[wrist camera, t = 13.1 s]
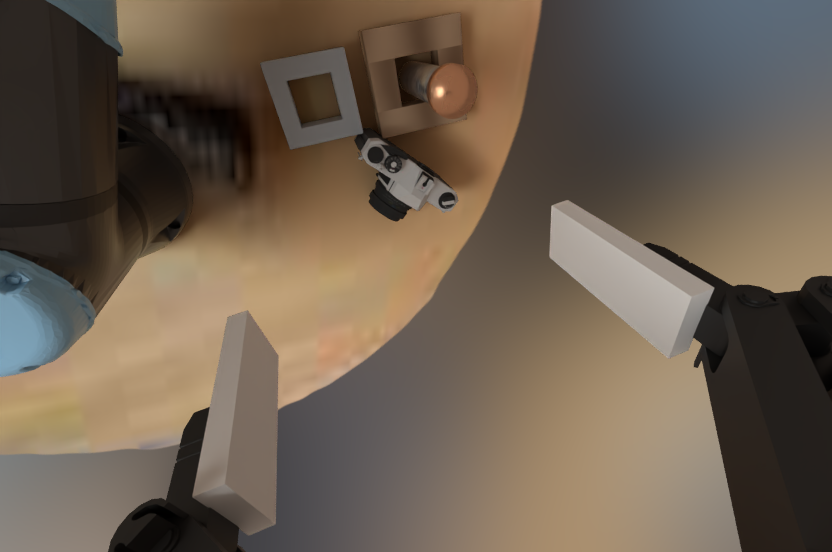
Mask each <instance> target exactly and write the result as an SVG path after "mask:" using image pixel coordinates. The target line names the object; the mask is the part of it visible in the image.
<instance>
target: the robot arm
mask: <svg viewBox="0 0 832 552" xmlns="http://www.w3.org/2000/svg"><path fill="white" fill-rule="evenodd" d="M118 56H120V57H122V56H123V49H122V46H121V44H120V43H119V41H118V27H117V6H116V0H0V377H4V376H10V375H16V374H20V373H24V372H28V371H31V370H34V369H36V368H39V367H40V366H41V365H45V364H47V363H50V362H53V361H55V360H56V359H58V358H59V357H61V356H62V355H63V354H64V353H66V352H67V351H68V350H69V349H70V347H71V346H72V345H73V344H74V343H75V342H76V341H77V340H78V339H79V338H80V337H81V336H82V335H84V334H85V333H86V332H87V331H88V330H89V329H90V328H91V327H92V326H93V324H94V319H95V318H96V317H97V315H98V314H99V312H100V311H101V310H102V308H103V307H104V305H105V304H106V302H107V301H108V300H109V298H110V297H111V295H112V294H113V293H114V291H115V290H116V288H117V287H118V286H119V284H120V283H121V281H122V280H123V279H124V277H125V276H126V274H127V273H128V272H129V270H130V269H131V267H132V266H133V265H134V263H135V262H136V260H137V259H139V258H141V257H143V256H146V255H148V254H151V253H153V252H155V251H158V250H160V249H162V248H163V247H165V246H166V245H168V244H169V243H170V242H172V241H173V240H174V239H175V238H176V237H177V236H178V235H179V233H180V232H181V231H182V229H183V227H184V226H185V224H186V222H187V221H188V219H189V217H190V214H191V210H192V204H193V194H192V188H191V184H190V181H189V178H188V175H187V173H186V171H185V169H184V167H183V166H182V164H181V162H180V161H179V159H178V158H177V157H176V155H175V154H174V153H173V152H172V151H171V149H170V148H169V147H168V146H167V145H166V144H165V143H164V142H162V141H161V140H160V139H159V138H158V137H157V136H155V135H154V134H153V133H151V132H150V131H149V130H147V129H146V128H144V127H143V126H141V125H139V124H137V123H136V122H134V121H132V120H130V119H128V118H125V117H123V116H121V115H118ZM550 258H551V259H552V260H554V261H555V262H556V263H557V264H558V265H559V266H561V267H562V268H563V269H564V270H565V271H566V272H568V273H569V274H570V275H571V276H572V277H573V278H575V279H576V280H577V281H578V282H579V283H581V284H582V285H583V286H584V287H585V288H586V289H587V290H589V291H590V292H591V293H592V294H594V296H596V297H597V298H598V299H599V300H600V301H602V302H603V303H604V304H605V305H606V306H607V307H609V308H610V309H611V310H612V311H613V312H615V313H616V314H617V315H618V316H619V317H620V318H622V319H623V320H624V321H625V322H626V323H627V324H629V325H630V326H631V327H632V328H633V329H634V330H636V331H637V332H638V333H639V334H640V335H641V336H643V337H644V338H645V339H646V340H647V341H649V342H650V343H651V344H652V345H653V346H654V347H655V348H657V349H658V350H659V351H660V352H662V353H663V354H664V355H665V356H666V357H667V358H671V357H674V356H676V355H678V354H681V353H683V352H685V351H688V349H689V347H690V345H691V342H692V340H693V338H695V339H696V340H698V341H699V342H700V343H701V344H702V346H701V348H700V350H699V353H698V355H697V357H696V359H695V361H694V367H696V368H698V366H699V364H700V362H701V361H702V363H703V368H704V372H705V377H706V382H707V387H708V392H709V396H710V401H711V406H712V411H713V416H714V420H715V425H716V430H717V435H718V439H719V444H720V449H721V454H722V458H723V463H724V468H725V473H726V478H727V482H728V487H729V492H730V497H731V501H732V506H733V511H734V516H735V521H736V526H737V530H738V535H739V539H740V544H741V549H742V552H832V276H817V277H811V278H810V279H808V280H807V281H806V282H805V284H804V285H803V287H802V288H801V290H800V291H793V292H783V293H773V292H771V291H770V290H767V289H764V288H762V287H758V286H752V285H737V286H732V285H730V284H728V283H726V282H724V281H723V280H721V279H719V278H717V277H716V276H714V275H712V274H710V273H709V272H707V271H705V270H703V269H702V268H700V267H698V266H696V265H695V264H693V263H689V261H688V260H686V259H684V258H682V257H678V255H677V254H675V253H674V252H672V251H670V250H668V249H666V248H665V247H661V246H658V245H654V244H651V243H646V244H644V245H642V244H640V243H638V242H637V241H635V240H634V239H631V238H630V237H628V236H627V235H625V234H624V233H622V232H620V231H619V230H617V229H615V228H614V227H612V226H610V225H608V224H607V223H605V222H603V221H602V220H600V219H598V218H597V217H595V216H593V215H592V214H590V213H588V212H587V211H585V210H583V209H582V208H580V207H578V206H577V205H575V204H573V203H571V202H570V201H568V200H566V201H563V202H560V203H558V204H555V205H552V210H551V234H550ZM277 410H278V354H277V353H276V351H275V350H274V348H273V347H272V346H271V344H270V343H269V341H268V340H267V338H266V337H265V335H264V334H263V332H262V331H261V329H260V328H259V326H258V325H257V323H256V322H255V320H254V319H253V317H252V316H251V314H250V313H249V312H248V310H247V311H244V312H241V313H238V314H235V315H232V316H229V317H228V318H227V323H226V328H225V333H224V338H223V343H222V348H221V353H220V358H219V364H218V369H217V374H216V379H215V384H214V389H213V394H212V399H211V404H210V407H208V408H206V409H203V410H200V411H198V412H195V413H194V414H193V415H192V417H191V419H190V420H189V422H188V424H187V425H186V427H185V429H184V431H183V435H182V439H181V443H180V449H179V451H178V455H177V459H176V460H177V463H176V464H175V467H174V471H173V475H172V479H171V483H170V487H169V491H168V495H167V499H166V500H164V499H162V498H159V499H151V500H150V501H148V502H146V503H143V504H141V505H140V506H138V507H137V508H136V509H135V510H134V511H132V512H131V513H130V514H129V515H128V516H127V517H126V519H125V520H124V521H123V522H122V523H121V525H120V526H119V527H118V529H117V530H116V532H115V534H114V536H113V538H112V539H111V542H110V546H109V551H108V552H246V551H245V550H244V549H243V548H242V547H240V546H239V545H237V543H238V531H239V529H240V530H241V531H243V532H245V533H246V534H247V535H251V534H253V533H256V532H258V531H261V530H263V529H265V528H268V527H270V526H272V525H275V524H276V467H277Z"/></svg>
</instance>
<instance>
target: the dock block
mask: <svg viewBox="0 0 832 552" xmlns="http://www.w3.org/2000/svg"><path fill="white" fill-rule="evenodd" d="M358 32H359V37H360V42H361V47H362V52H363V57H364V62H365V67H366V72H367V77H368V82H369V87H370V92H371V96H372V101H373V106H374V111H375V116H376V121H377V126H378V131H379V134H380V135H381V137H382V138H388V137H392V136H396V135H401V134H405V133H409V132H414V131H418V130H422V129H427V128H431V127H436V126H440V125H444V124H449V123H453V122H457V121H462V120H466V119H467V114H465V115H463V116H462V117H460V118H457V119H447V118H444V117H442V116H440V115H439V114H437V113H436V112H434V111H433V110H432V108H431V107H430V105H429V103H427V102H425V101H423V100H421V99H418V100H413V101H408V102H404V103H401V97H400V91H399V85H398V79H397V72H396V66H395V60H394V58H398V57H403V56H408V55H413V54H418V53H423V52H428V51H431V60H432V65H437V66H441V65H443V64H446V63H456V64H461V65H463V48H462V32H461V16H460V13H453V14H448V15H442V16H437V17H432V18H426V19H421V20H416V21H410V22H405V23H400V24H394V25H389V26H384V27H378V28H373V29H368V30H362V31H358Z"/></svg>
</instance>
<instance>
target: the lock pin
mask: <svg viewBox="0 0 832 552" xmlns="http://www.w3.org/2000/svg"><path fill="white" fill-rule="evenodd" d="M399 83H400V85H401V87H402V89H403V90H404V91H406V92H407V93H409V94H411V95H413V96H415V97H417V98H419V99H421V100H423V101H425V102H427V103H429V105H430V107H431V108H432V110H433V111H434V112H436V113H437V114H439V115H440V116H442V117H444V118H447V119H457V118H460V117H462V116H463V115H465V114H466V113H467V112H468V111H469V110H470V109H471V108H472V106H473V104H474V102H475V100H476V96H477V82H476V79H475V76H474V74H473V73H472V71H471V70H470V69H469V68H467V67H466V66H464V65H461V64H456V63H446V64H443V65H441V66H437V65H432V64H427V63H423V62H418V61H409V62H407V63H405V64H404V65H403V66H402V68H401V70H400V72H399Z"/></svg>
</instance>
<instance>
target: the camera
mask: <svg viewBox="0 0 832 552" xmlns="http://www.w3.org/2000/svg"><path fill="white" fill-rule="evenodd" d="M362 129H363V133H362V134H358V135H357V136H356V138H355V140H354V141H355V143H356V145H357V147H358V149H359V150H360V152H361V154H362V155H361V156H360V154H359V152H358V154H359V157H358V159H359V160H361V161H362V159H363V158H364V160H365V161H366V163H367V164H369V165H370V166H372V167H373V168H375V169H377V170H378V171H379V173H376V175H377V177H378V178H379V180H377V182H376V183H375V184H376V186H375V187H376V188H375V189H374V190H372V192H371V193H370V195H369V196H370V200H369V203H370V204H371V206H372V207H373V208H374V209H376V210H377V211H378V212H379V213H381V214H382V215H384V216H385V217H387V218H389V219H391V220H393V221H399V219H403V218H404V217H405V215H406V214H407V210H409V209H411V208H414V209H415V210H417V211H419V210H420V209H421V208H422V207H423V205H424V204H425V203H426V202H429V203H430V204H432V205H434V206H435V207H437V208H438V209H440V210H441V211H442V213H445V211H451V210H452V209H453V207H454V206H455V205H456V203H457V202H458V197H457V194H456V192H455V191H454V190H453V189H452V188H451V187H450V186H449V185H448V184H447V183H446V182H445V181H444V180H443V179H442V178H440V176H439V175H437V174H436V173H435V172H434V171H433V170H431V169H430V168H428V167H427V166H426V165H424V164H423V163H421V162H419V161H417V160H416V159H414V158H413V157H411V156H410V155H409V154H407V153H406V152H404V151H403V150H401V149H400V148H398V147H397V146H396V145H394V144H393V143H391V142H390V141H388V140H387V139H386V138H382V137H381V135H380V134H378V133H377V132H376V131H374V130H373V129H371V128H362Z"/></svg>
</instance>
